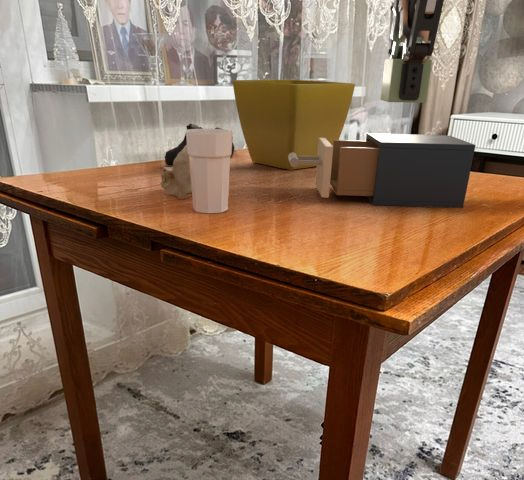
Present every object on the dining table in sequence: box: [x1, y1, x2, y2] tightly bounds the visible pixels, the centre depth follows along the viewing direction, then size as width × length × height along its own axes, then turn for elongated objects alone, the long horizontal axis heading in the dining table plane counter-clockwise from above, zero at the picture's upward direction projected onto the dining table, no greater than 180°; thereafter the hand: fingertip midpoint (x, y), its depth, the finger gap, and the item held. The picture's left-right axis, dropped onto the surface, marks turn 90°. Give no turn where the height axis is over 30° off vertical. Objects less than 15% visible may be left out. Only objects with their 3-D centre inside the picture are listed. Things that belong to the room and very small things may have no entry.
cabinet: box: [365, 132, 476, 209], centre depth 90 cm, size 15×13×10 cm
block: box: [380, 58, 433, 104], centre depth 63 cm, size 4×4×4 cm
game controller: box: [164, 123, 236, 167], centre depth 112 cm, size 16×7×10 cm, turn 43°
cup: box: [185, 128, 233, 214], centre depth 79 cm, size 7×7×11 cm
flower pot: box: [232, 79, 356, 171], centre depth 118 cm, size 19×19×17 cm
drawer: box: [288, 138, 379, 199], centre depth 90 cm, size 19×11×8 cm, turn 90°
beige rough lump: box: [160, 144, 192, 200], centre depth 88 cm, size 9×6×10 cm
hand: (402, 98), depth 64 cm, fingers closed on block, 4 cm apart
